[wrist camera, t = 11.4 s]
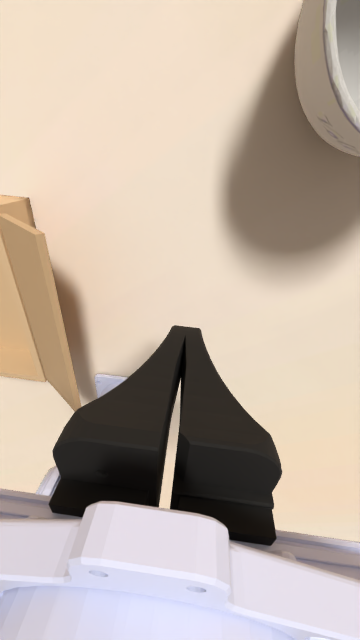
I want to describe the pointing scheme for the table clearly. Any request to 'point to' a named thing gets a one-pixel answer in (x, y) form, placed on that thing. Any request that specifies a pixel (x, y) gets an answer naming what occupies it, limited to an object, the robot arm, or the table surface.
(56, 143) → the table surface
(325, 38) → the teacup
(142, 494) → the robot arm
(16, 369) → the carton
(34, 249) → the flap
